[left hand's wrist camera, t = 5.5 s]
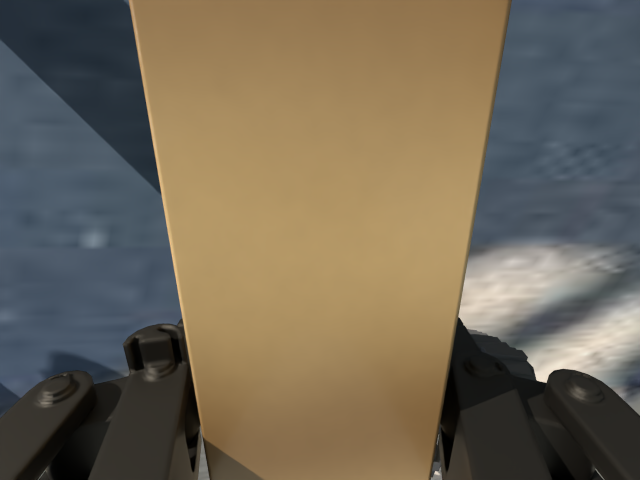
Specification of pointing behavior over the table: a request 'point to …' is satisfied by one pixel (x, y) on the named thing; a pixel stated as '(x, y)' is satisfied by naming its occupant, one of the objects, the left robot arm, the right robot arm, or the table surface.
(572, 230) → the table surface
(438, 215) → the birch bar
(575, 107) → the table surface
